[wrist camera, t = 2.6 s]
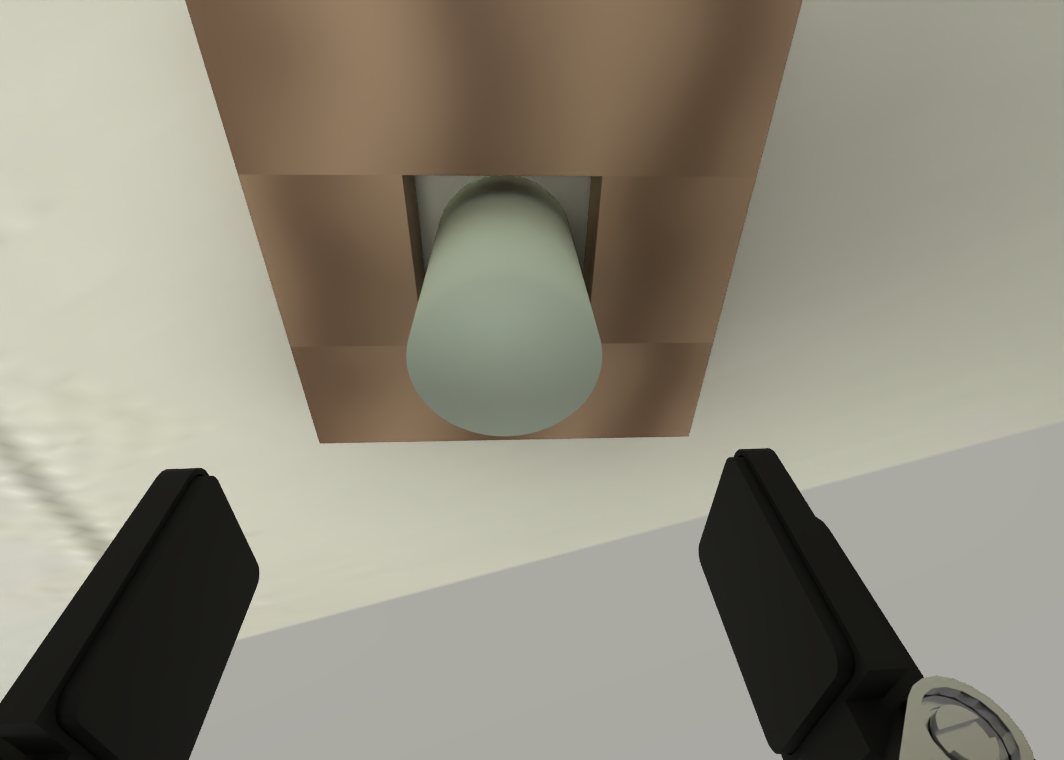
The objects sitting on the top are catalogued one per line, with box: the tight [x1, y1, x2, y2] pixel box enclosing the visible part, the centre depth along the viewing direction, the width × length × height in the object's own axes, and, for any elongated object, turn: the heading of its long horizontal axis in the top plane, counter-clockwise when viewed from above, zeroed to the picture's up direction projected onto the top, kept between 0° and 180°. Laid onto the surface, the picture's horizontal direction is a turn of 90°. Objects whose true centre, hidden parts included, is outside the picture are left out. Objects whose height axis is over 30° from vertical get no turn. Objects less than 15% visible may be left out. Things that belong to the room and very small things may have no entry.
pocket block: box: [185, 0, 802, 443], centre depth 19 cm, size 16×16×2 cm
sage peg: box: [406, 176, 602, 436], centre depth 17 cm, size 5×5×8 cm
